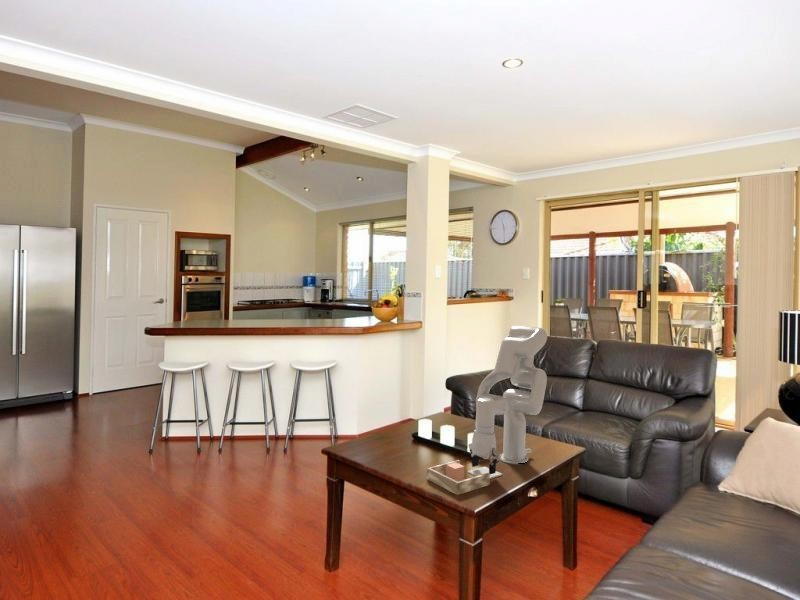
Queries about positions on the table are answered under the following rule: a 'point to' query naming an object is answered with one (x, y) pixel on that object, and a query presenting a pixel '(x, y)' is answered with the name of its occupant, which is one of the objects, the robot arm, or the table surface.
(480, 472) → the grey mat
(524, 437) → the robot arm
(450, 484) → the birch box
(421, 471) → the table surface
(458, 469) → the terracotta cube
